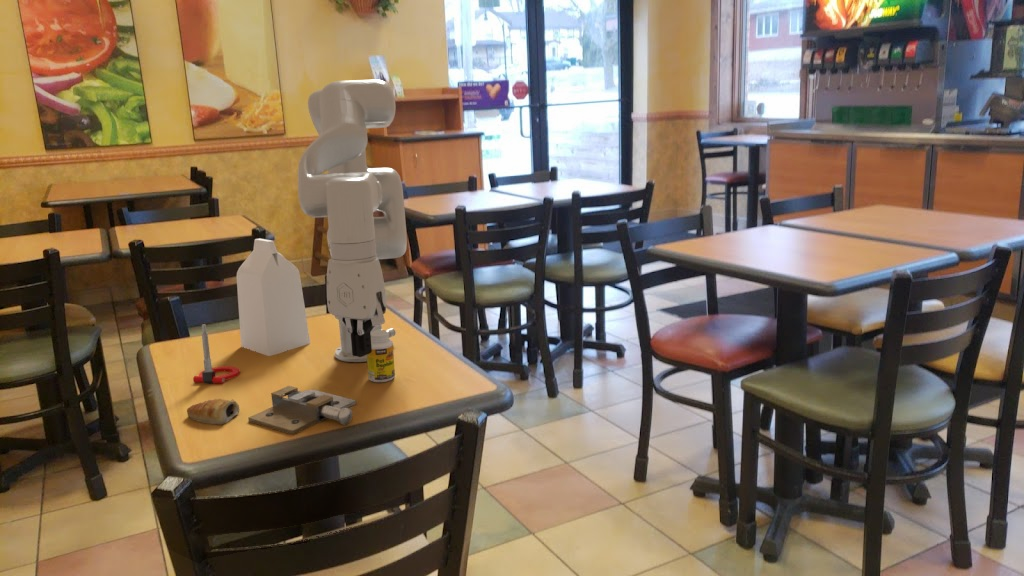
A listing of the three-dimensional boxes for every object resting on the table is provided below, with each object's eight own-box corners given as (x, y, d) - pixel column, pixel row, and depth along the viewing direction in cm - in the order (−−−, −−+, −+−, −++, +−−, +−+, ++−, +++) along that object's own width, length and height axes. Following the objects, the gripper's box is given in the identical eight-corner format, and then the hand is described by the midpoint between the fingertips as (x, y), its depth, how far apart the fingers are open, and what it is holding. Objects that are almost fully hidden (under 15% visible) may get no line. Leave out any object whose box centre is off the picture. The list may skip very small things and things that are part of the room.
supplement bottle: (375, 385, 163) (371, 338, 161) (364, 378, 168) (360, 332, 165) (399, 379, 166) (396, 333, 164) (388, 372, 171) (384, 327, 168)
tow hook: (211, 370, 177) (189, 383, 168) (206, 314, 174) (183, 325, 165) (247, 371, 176) (226, 385, 167) (241, 315, 173) (220, 325, 164)
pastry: (179, 423, 148) (176, 404, 147) (201, 409, 154) (198, 391, 154) (224, 427, 146) (221, 407, 145) (244, 413, 152) (241, 394, 151)
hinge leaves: (312, 393, 160) (311, 376, 159) (356, 404, 154) (354, 386, 153) (248, 421, 147) (246, 403, 146) (293, 434, 141) (290, 416, 140)
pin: (304, 407, 152) (302, 393, 152) (353, 421, 146) (351, 406, 145) (292, 413, 150) (290, 398, 149) (341, 427, 143) (339, 411, 142)
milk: (241, 346, 191) (228, 241, 185) (282, 334, 200) (270, 233, 193) (269, 356, 184) (256, 246, 177) (310, 343, 192) (299, 238, 186)
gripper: (305, 251, 134) (316, 354, 138) (371, 258, 126) (379, 367, 130) (337, 244, 140) (346, 343, 145) (401, 250, 132) (409, 354, 136)
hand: (362, 354), depth 137 cm, fingers closed
